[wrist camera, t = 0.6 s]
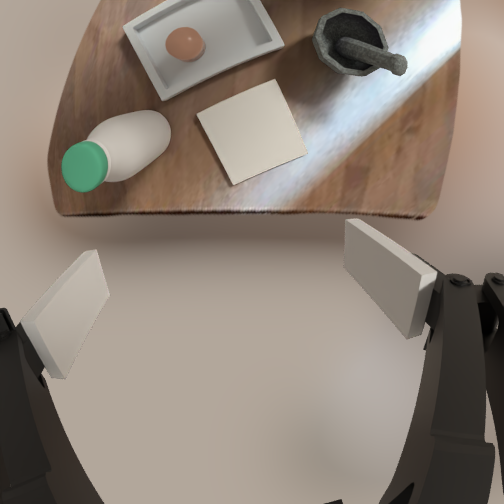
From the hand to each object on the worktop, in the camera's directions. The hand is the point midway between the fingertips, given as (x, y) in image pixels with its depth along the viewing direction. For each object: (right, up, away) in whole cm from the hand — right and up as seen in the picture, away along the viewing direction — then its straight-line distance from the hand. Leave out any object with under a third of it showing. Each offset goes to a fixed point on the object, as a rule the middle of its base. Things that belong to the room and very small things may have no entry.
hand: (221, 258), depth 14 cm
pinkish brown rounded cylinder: (-7, +28, +17) cm, 34 cm away
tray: (-5, +31, +16) cm, 35 cm away
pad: (+2, +17, +24) cm, 30 cm away
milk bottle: (-14, +18, +24) cm, 33 cm away
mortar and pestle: (+14, +29, +18) cm, 37 cm away
